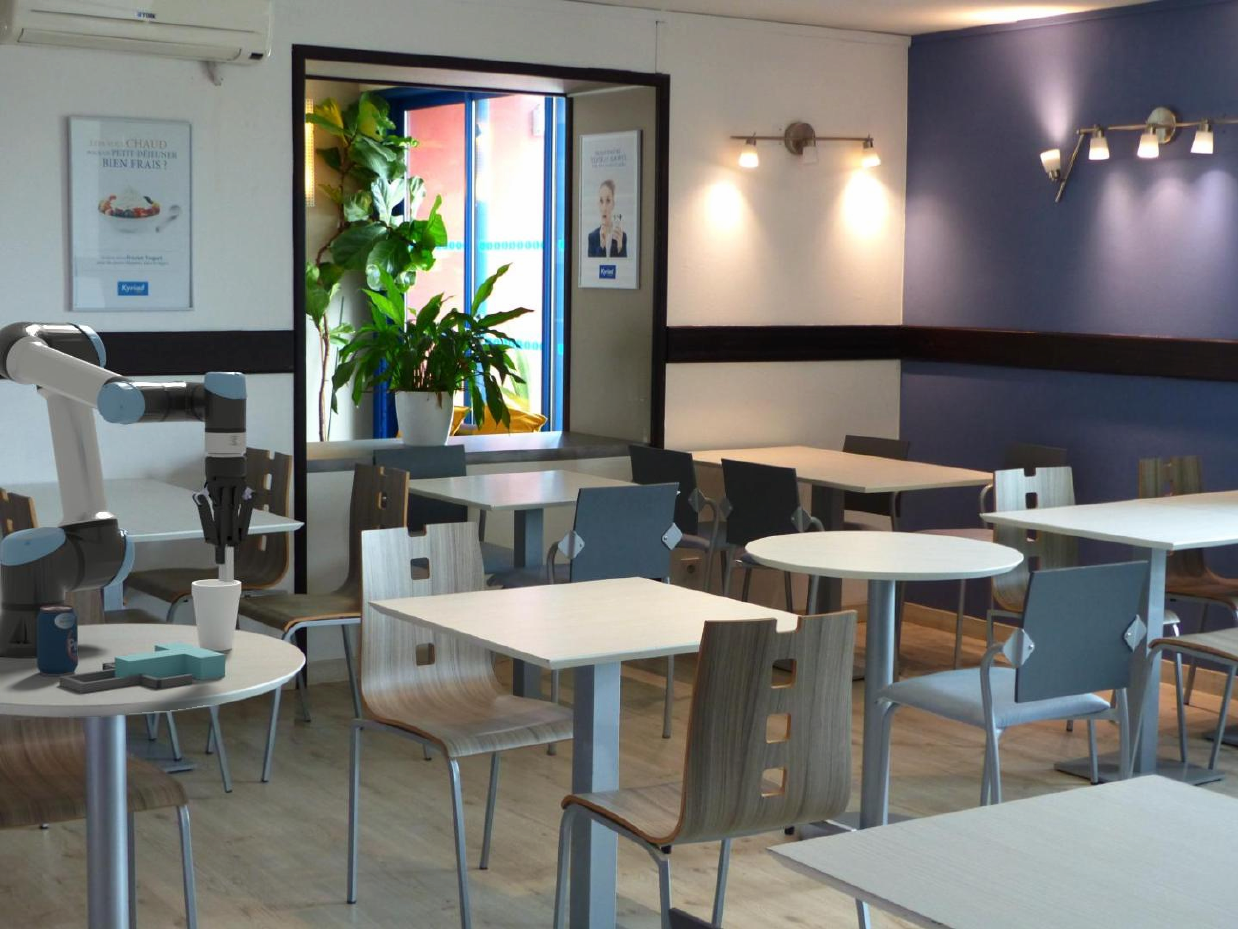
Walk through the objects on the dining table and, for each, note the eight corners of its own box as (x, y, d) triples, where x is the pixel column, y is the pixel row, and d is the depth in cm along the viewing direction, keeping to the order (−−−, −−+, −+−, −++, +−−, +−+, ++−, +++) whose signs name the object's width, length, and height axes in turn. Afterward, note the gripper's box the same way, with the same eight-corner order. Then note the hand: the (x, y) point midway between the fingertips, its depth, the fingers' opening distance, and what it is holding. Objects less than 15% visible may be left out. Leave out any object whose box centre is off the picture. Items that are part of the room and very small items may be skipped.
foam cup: (247, 644, 310) (247, 580, 309) (231, 653, 301) (231, 587, 300) (201, 642, 311) (201, 578, 310) (184, 651, 302) (184, 585, 301)
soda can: (79, 675, 278) (79, 609, 277) (38, 677, 275) (37, 611, 274) (76, 667, 284) (76, 603, 283) (36, 670, 282) (35, 605, 281)
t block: (178, 663, 291) (178, 642, 291) (225, 676, 280) (225, 654, 280) (99, 674, 279) (99, 652, 279) (144, 689, 268) (144, 666, 268)
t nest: (138, 666, 287) (138, 658, 286) (193, 683, 273) (193, 674, 273) (44, 680, 273) (44, 671, 273) (97, 698, 260) (97, 689, 260)
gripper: (205, 457, 279) (206, 586, 280) (267, 454, 288) (267, 580, 290) (183, 455, 284) (184, 582, 286) (244, 452, 293) (245, 575, 295)
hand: (226, 581), depth 288 cm, fingers closed
